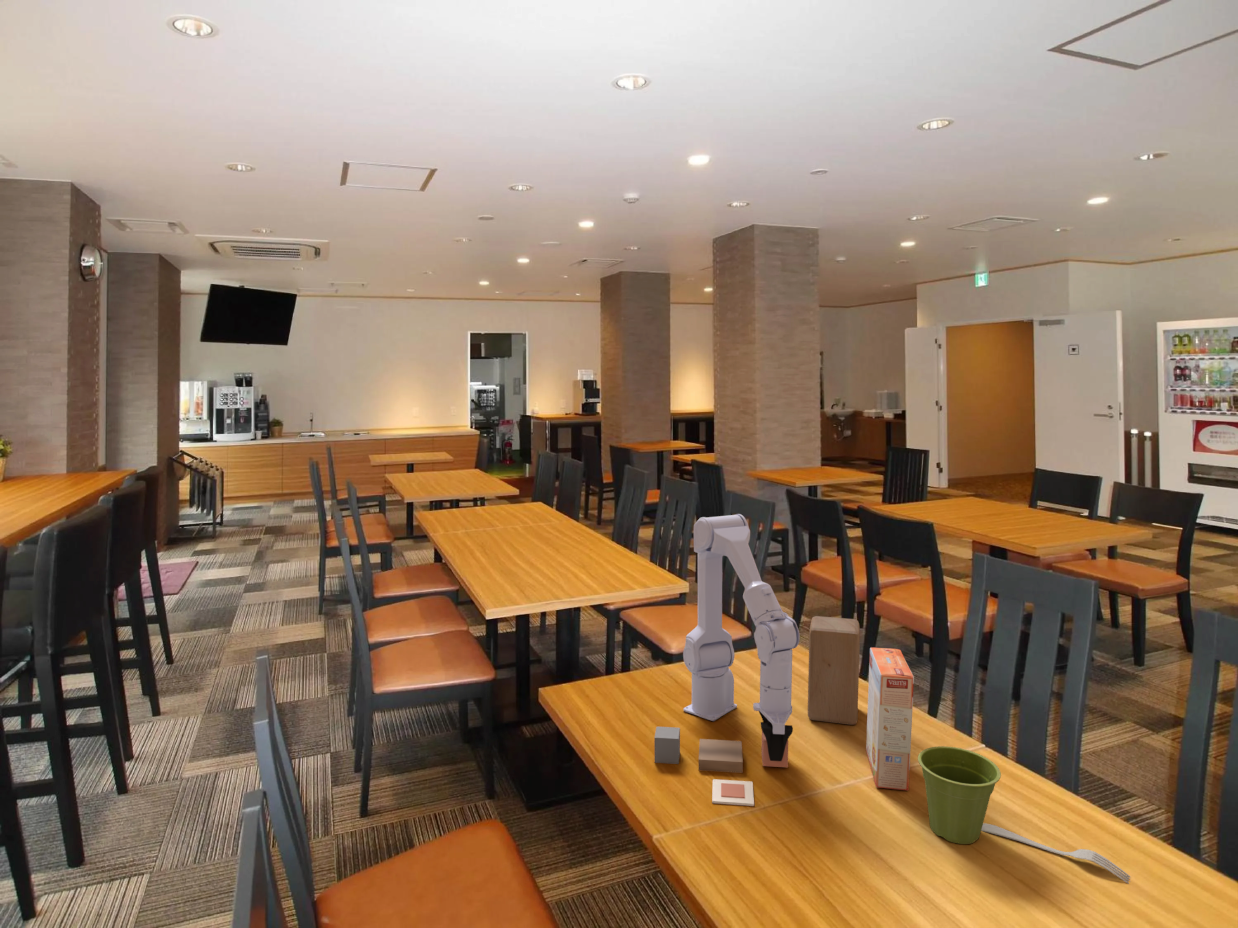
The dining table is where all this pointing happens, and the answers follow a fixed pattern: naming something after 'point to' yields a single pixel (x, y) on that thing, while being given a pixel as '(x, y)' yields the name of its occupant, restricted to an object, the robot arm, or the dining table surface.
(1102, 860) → the fork
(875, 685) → the cracker box
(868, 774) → the dining table surface
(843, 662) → the wooden block
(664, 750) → the charcoal block
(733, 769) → the walnut base block
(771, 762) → the brick red block
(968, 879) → the dining table surface
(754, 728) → the dining table surface
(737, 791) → the card
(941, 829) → the plant pot
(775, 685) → the robot arm
